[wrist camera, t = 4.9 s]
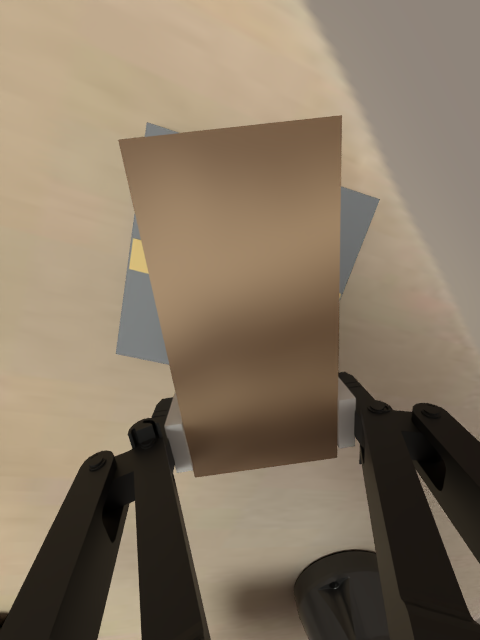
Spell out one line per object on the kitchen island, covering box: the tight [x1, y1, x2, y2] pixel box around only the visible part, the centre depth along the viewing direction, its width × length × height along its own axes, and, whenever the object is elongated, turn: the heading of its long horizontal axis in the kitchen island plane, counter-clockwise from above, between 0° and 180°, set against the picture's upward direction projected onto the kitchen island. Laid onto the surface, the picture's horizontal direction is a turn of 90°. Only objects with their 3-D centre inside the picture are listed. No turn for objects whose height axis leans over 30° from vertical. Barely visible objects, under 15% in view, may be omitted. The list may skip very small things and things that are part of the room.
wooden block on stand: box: [119, 115, 342, 477], centre depth 16 cm, size 14×7×12 cm, turn 6°
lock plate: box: [116, 122, 380, 365], centre depth 19 cm, size 18×18×8 cm
